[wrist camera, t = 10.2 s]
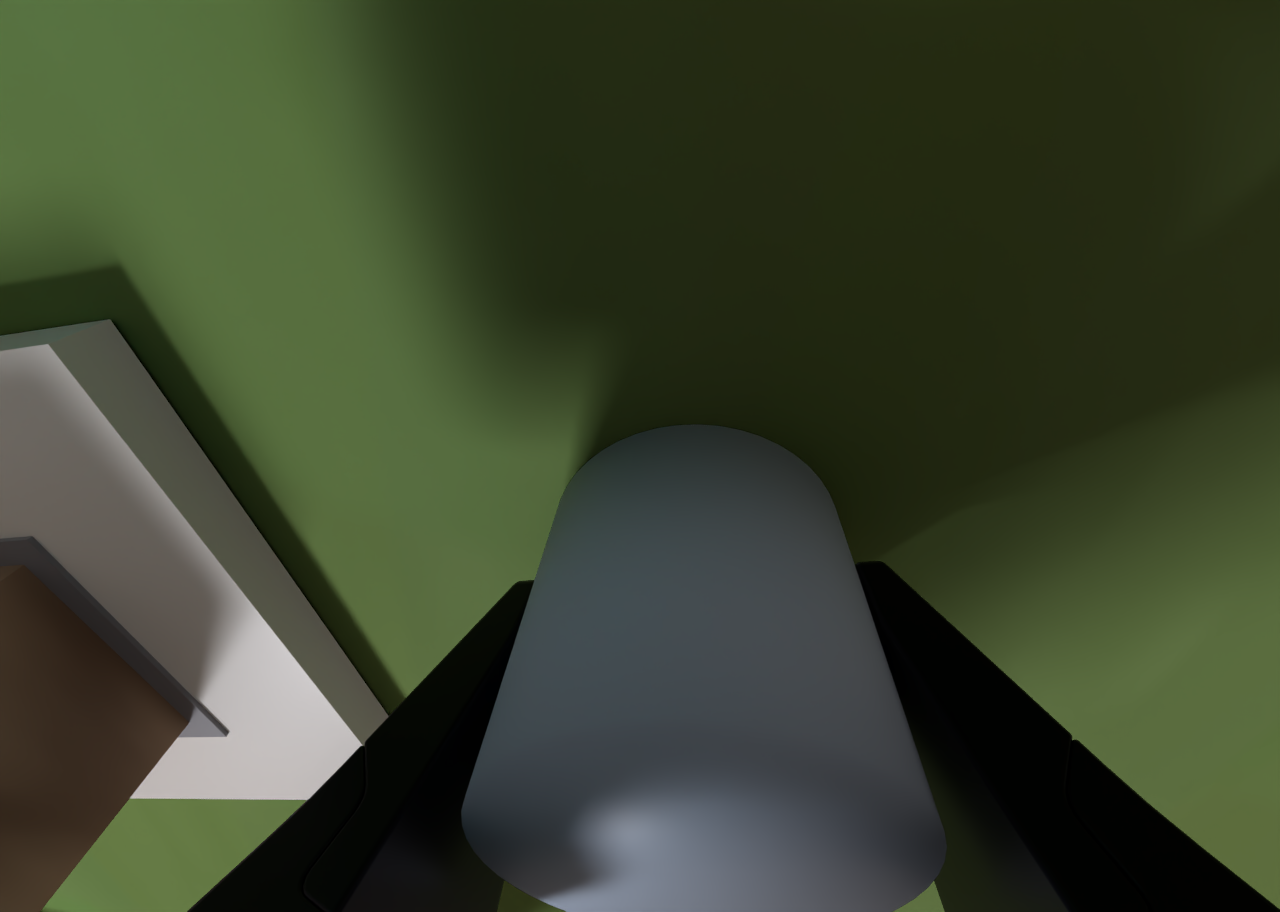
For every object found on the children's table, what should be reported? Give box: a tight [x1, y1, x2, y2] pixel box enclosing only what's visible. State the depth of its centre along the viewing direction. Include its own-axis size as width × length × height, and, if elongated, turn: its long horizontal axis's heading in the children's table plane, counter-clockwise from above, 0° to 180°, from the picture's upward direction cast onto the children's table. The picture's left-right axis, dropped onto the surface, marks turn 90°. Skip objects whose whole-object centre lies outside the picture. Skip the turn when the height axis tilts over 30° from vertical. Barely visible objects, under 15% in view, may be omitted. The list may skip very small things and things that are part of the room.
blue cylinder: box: [461, 424, 947, 912], centre depth 8 cm, size 5×5×5 cm
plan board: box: [0, 319, 389, 800], centre depth 13 cm, size 13×13×1 cm
